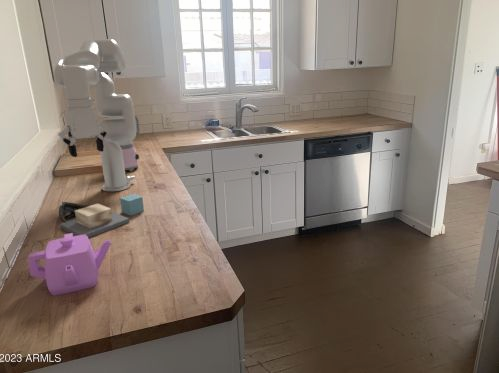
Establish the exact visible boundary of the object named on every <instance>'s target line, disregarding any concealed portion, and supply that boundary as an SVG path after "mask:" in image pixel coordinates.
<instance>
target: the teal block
mask: <svg viewBox="0 0 499 373" xmlns="http://www.w3.org/2000/svg"><path fill="white" fill-rule="evenodd" d="M119 201H120V206H121V212H122V214H125V215H128V216H133V215H137V214H140V213H142V212H144V211H145V210H144V200H143V196H141V195H138V194H135V193H132V194H128V195H126V196H122V197H119Z"/></svg>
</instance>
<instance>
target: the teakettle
mask: <svg viewBox="0 0 499 373" xmlns="http://www.w3.org/2000/svg"><path fill="white" fill-rule="evenodd" d="M63 235H64V236H63V237H61V238H57V239H53V240H49V241H48V243H47V244H46V247H45V250H41V251H37V252H31V253H29V254H28V256H27V258H28V267H29V276H30V277H35V278H39V279H43V280H45V282H46V286H47V289H48V292H49V293H50V295H52V296H55V297H56V296H61V295H66V294H70V293H71V294H72V293H75V292H78V291H79V292H80V291H82V290H86V289H91V288H93V287H96V285H97V282H98V276H99V269H100V268H101V266H102V264H103V262H104V260H105V257H106V255H107V253H108V251H109V250H110V247H111V245H112V241H111V240H103V243H102V244H101V245H100V246H99V248H98V249H97V250H96V252H95V251H94V248H93V246H92V244H91V241H90V238H88V237H87V235H78V236H75V235H73V233H70V232H69V233H65V234H63ZM38 260H44V267H43V266H39V263H38Z"/></svg>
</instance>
